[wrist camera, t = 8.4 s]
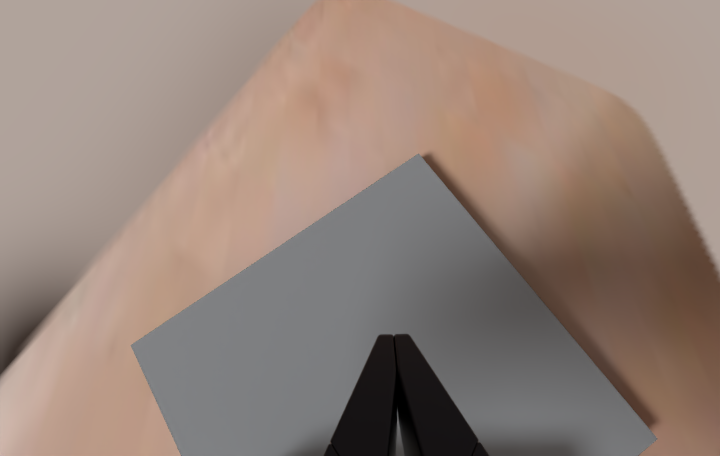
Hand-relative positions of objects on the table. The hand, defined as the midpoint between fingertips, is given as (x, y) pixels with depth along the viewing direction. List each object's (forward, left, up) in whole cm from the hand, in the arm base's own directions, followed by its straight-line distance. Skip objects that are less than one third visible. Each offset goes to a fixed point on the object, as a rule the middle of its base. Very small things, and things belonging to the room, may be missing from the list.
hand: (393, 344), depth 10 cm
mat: (-1, +2, -9) cm, 9 cm away
